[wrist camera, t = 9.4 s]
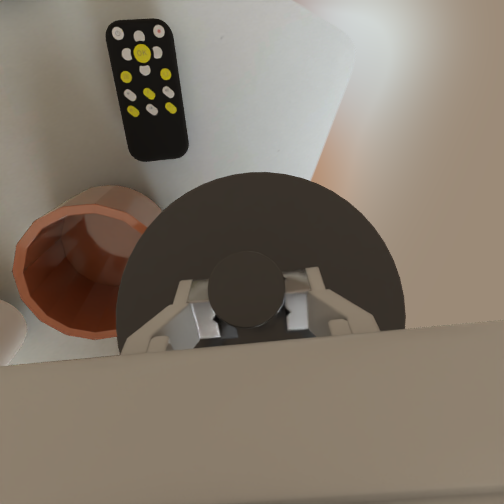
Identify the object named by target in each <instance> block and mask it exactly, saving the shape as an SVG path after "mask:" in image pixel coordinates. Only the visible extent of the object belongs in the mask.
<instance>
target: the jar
mask: <svg viewBox="0 0 504 504" xmlns="http://www.w3.org/2000/svg"><path fill="white" fill-rule="evenodd" d="M161 212H162V210H161V209H160V208H159V206H158V205H157V204H156V203H154V202H153V201H152V200H151V199H150V198H148V197H147V196H145V195H144V194H142V193H140V192H138V191H136V190H133V189H130V188H127V187H123V186H117V185H104V186H97V187H91V188H89V189H87V190H85V191H83V192H81V193H79V194H77V195H75V196H74V197H72V198H70V199H68V200H67V201H65V202H64V203H62V204H60V205H59V206H57V207H56V208H54V209H53V210H51V211H49V212H48V213H46V214H45V215H43V216H41V217H40V218H38V219H37V220H35V221H34V222H33V223H32V225H31V226H30V227H29V229H28V230H27V231H26V233H25V234H24V235H23V237H22V238H21V239H20V241H19V242H18V243H17V245H16V251H15V257H14V263H13V270H12V272H13V276H14V279H15V282H16V285H17V288H18V291H19V295H20V298H21V300H22V301H23V302H24V303H25V304H26V305H27V306H28V308H29V309H30V310H31V311H32V312H33V313H34V314H35V316H36V317H37V318H38V319H39V320H40V321H41V322H43V323H45V324H47V325H49V326H51V327H52V328H54V329H56V330H58V331H60V332H62V333H64V334H66V335H69V336H75V337H81V338H87V339H92V340H95V339H96V340H97V339H104V338H111V337H117V333H116V306H117V297H118V291H119V287H120V283H121V279H122V275H123V272H124V269H125V267H126V264H127V262H128V259H129V257H130V255H131V253H132V251H133V249H134V247H135V245H136V243H137V242H138V240H139V239H140V237H141V236H142V234H143V233H144V232H145V230H146V229H147V227H148V226H149V225H150V224H151V223H152V222H153V221H154V219H155V218H156V217H157V216H158V215H159V214H160V213H161Z"/></svg>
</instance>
